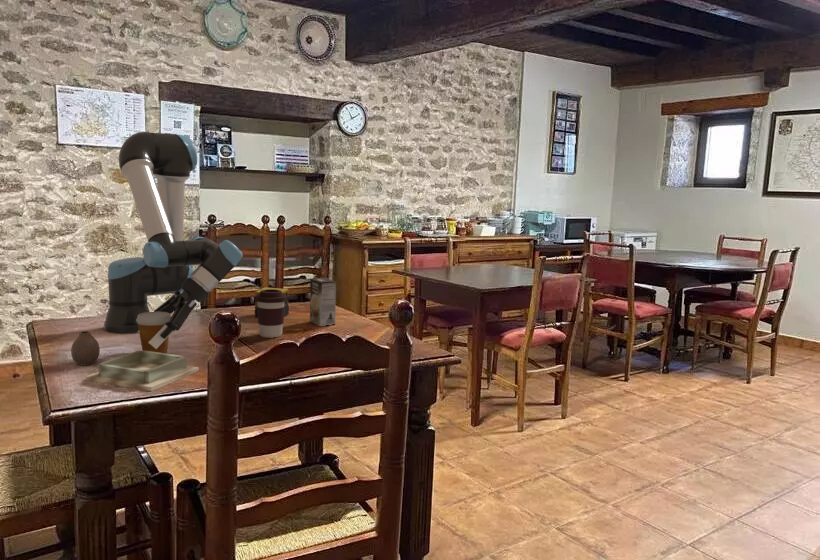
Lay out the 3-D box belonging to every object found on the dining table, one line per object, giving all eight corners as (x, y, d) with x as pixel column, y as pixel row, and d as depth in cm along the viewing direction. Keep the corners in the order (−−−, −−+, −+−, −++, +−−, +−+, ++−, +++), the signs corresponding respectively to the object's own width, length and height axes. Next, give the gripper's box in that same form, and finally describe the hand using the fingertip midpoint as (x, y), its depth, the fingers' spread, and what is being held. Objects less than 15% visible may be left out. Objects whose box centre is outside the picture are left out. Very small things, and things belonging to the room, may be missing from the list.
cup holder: (85, 380, 159) (85, 364, 158) (137, 361, 176) (137, 347, 175) (151, 391, 153) (151, 375, 152) (198, 371, 170) (198, 356, 169)
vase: (81, 368, 168) (79, 336, 167) (66, 364, 172) (64, 332, 170) (105, 362, 174) (104, 331, 172) (90, 358, 177) (89, 327, 176)
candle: (264, 312, 245) (264, 287, 243) (289, 314, 243) (289, 288, 242) (253, 318, 235) (254, 291, 233) (280, 320, 233) (280, 293, 232)
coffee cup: (278, 340, 204) (279, 294, 202) (250, 337, 206) (250, 292, 204) (290, 333, 214) (291, 289, 211) (263, 330, 216) (263, 287, 213)
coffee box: (308, 321, 232) (309, 278, 230) (324, 319, 236) (325, 277, 233) (320, 326, 225) (320, 282, 222) (336, 325, 228) (337, 280, 226)
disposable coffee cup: (176, 357, 181) (175, 316, 179) (141, 361, 176) (140, 319, 174) (167, 349, 189) (166, 310, 187) (133, 353, 183) (132, 313, 182)
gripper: (222, 300, 178) (167, 359, 172) (196, 286, 199) (146, 338, 192) (202, 283, 174) (146, 342, 168) (178, 270, 195) (127, 323, 189)
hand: (146, 340), depth 180 cm, fingers open, 13 cm apart
